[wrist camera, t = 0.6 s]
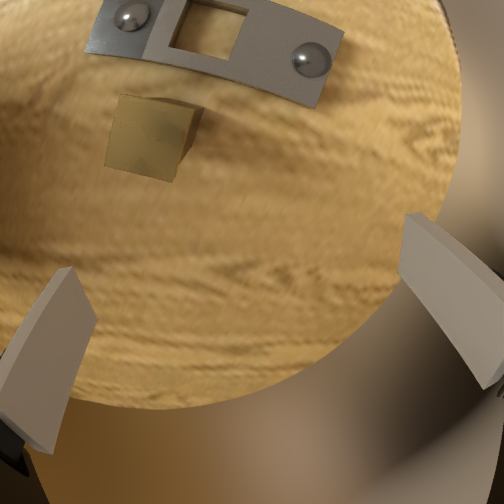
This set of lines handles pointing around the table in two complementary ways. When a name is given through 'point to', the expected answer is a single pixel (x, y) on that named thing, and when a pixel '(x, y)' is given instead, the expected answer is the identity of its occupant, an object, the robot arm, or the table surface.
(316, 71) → the plate
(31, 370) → the robot arm
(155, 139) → the link pin
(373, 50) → the table surface
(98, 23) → the plate
